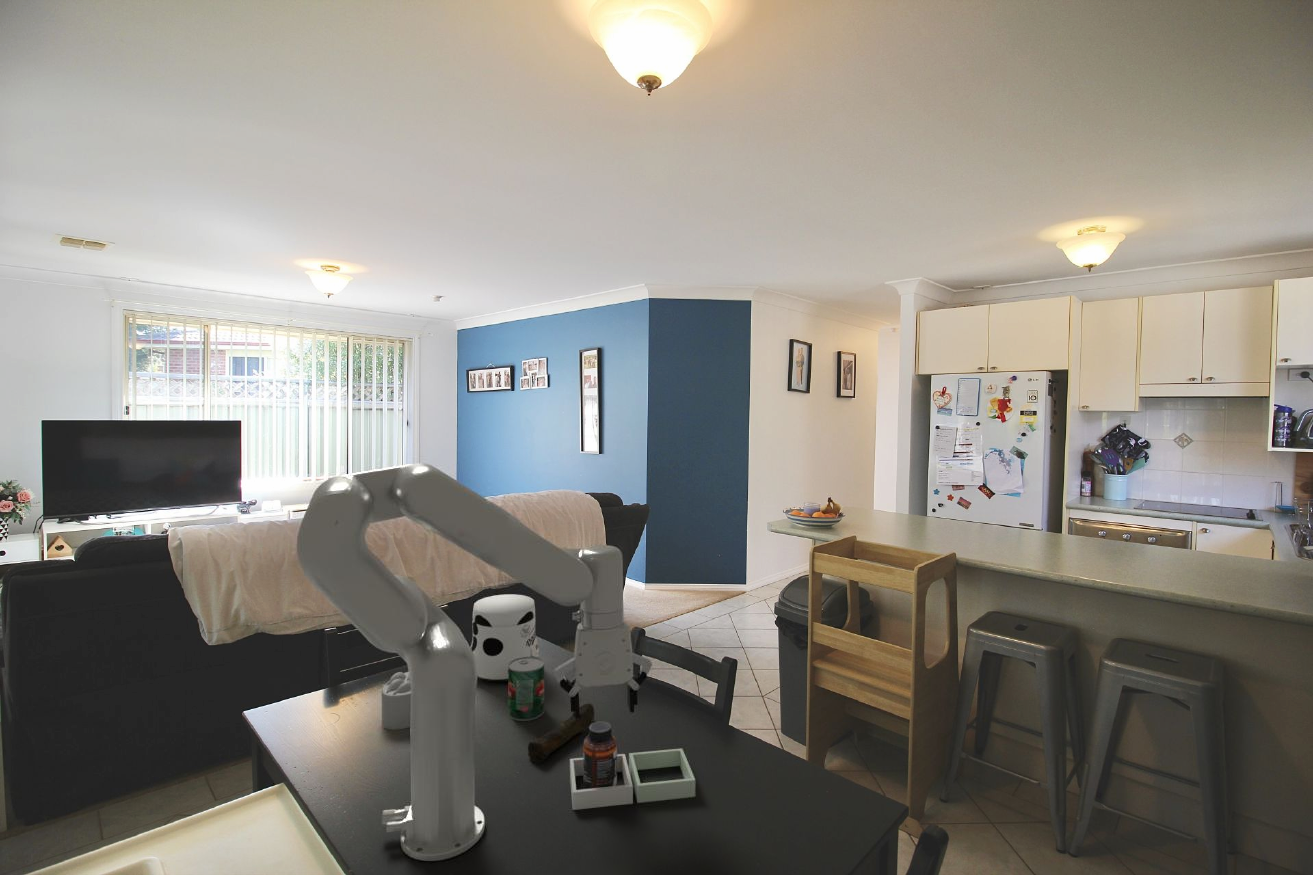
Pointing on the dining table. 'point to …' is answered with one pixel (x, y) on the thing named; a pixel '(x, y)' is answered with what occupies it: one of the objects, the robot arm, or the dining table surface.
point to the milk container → (502, 634)
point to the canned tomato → (526, 688)
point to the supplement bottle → (600, 757)
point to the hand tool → (561, 734)
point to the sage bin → (662, 788)
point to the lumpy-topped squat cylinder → (396, 702)
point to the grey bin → (604, 794)
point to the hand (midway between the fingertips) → (604, 711)
